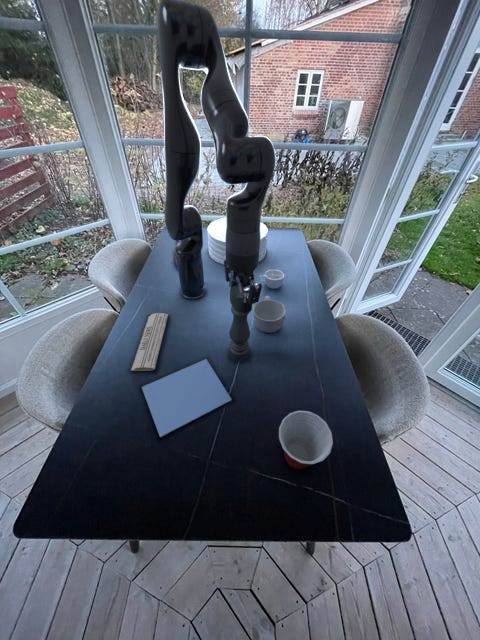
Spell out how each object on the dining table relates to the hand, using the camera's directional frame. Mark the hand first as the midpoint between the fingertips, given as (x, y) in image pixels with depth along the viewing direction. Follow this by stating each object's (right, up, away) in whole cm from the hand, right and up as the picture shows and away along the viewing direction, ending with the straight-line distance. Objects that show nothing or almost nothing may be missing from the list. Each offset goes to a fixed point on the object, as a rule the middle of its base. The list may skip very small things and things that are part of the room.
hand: (240, 304), depth 70 cm
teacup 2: (+10, -5, +25) cm, 27 cm away
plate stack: (-2, +30, +61) cm, 68 cm away
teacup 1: (+13, +10, +41) cm, 44 cm away
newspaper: (-29, -11, +17) cm, 36 cm away
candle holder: (0, -15, +14) cm, 21 cm away
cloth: (-15, -25, +3) cm, 29 cm away
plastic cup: (+13, -36, -7) cm, 39 cm away
